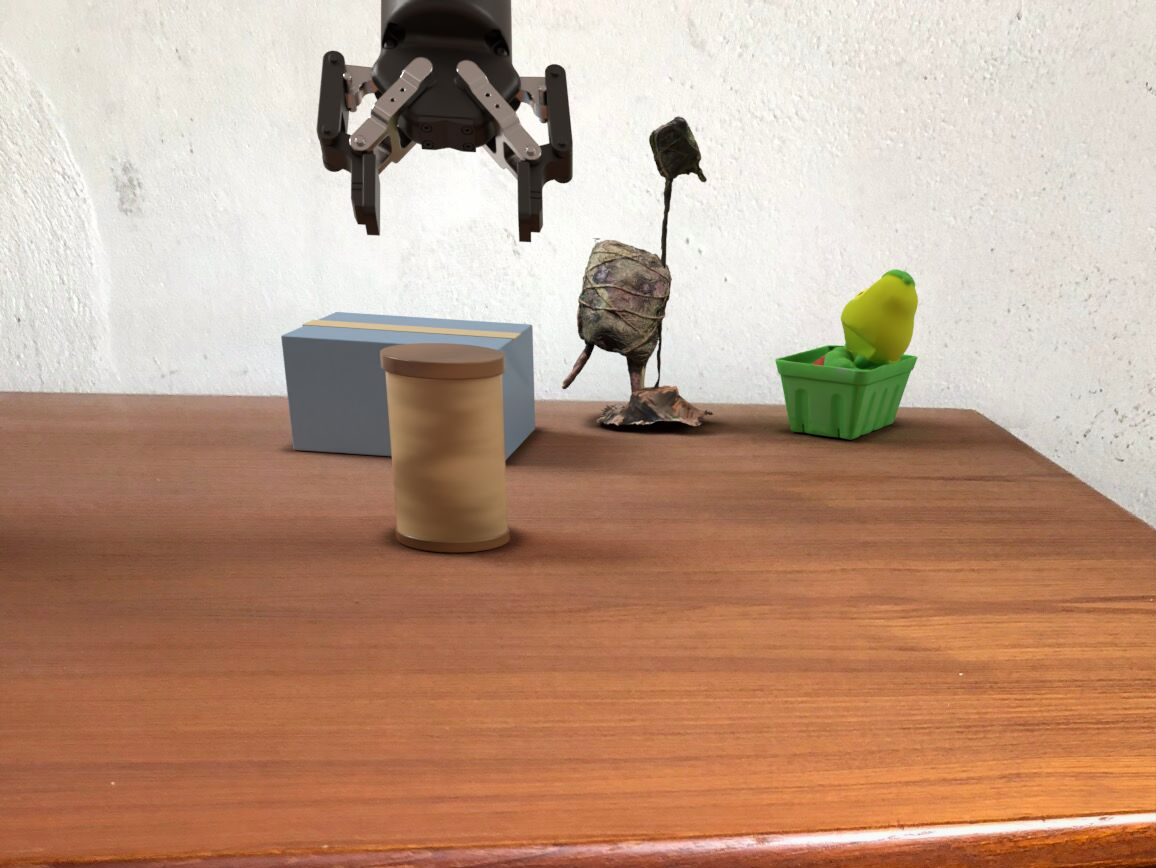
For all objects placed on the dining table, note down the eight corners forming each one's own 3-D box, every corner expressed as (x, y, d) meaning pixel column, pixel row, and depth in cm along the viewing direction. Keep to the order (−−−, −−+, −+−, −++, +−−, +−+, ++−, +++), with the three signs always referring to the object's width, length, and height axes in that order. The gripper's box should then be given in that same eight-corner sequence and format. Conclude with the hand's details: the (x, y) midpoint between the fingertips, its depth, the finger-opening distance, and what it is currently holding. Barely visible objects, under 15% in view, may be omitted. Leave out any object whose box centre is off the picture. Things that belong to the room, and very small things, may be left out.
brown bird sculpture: (592, 406, 118) (589, 109, 108) (727, 422, 116) (738, 119, 105) (547, 423, 112) (540, 108, 101) (690, 440, 109) (697, 119, 99)
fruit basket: (825, 410, 122) (836, 255, 116) (928, 425, 119) (945, 266, 113) (767, 432, 113) (775, 265, 107) (876, 448, 110) (891, 278, 104)
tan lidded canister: (380, 549, 81) (364, 357, 76) (410, 520, 86) (397, 339, 81) (499, 557, 81) (491, 366, 76) (521, 527, 86) (515, 347, 81)
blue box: (291, 450, 100) (278, 334, 96) (343, 416, 110) (333, 310, 106) (504, 464, 99) (500, 348, 96) (536, 429, 110) (534, 323, 106)
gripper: (568, 53, 93) (574, 280, 90) (332, 38, 91) (329, 270, 88) (568, -57, 86) (575, 185, 82) (311, -76, 84) (307, 171, 81)
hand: (448, 228), depth 85 cm, fingers open, 8 cm apart
